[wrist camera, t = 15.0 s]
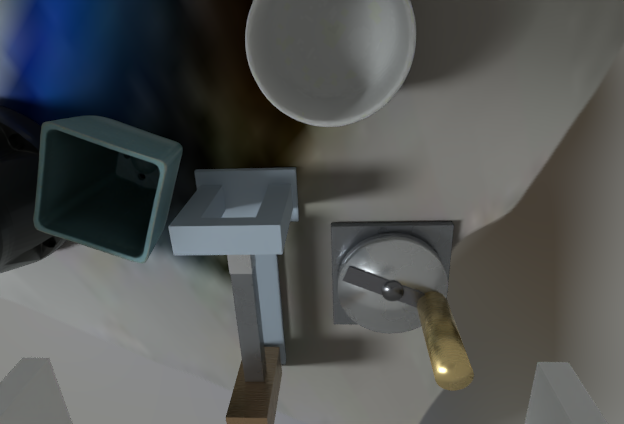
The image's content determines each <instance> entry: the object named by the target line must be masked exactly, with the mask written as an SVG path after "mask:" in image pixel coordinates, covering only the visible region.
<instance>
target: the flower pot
mask: <svg viewBox="0 0 624 424" xmlns="http://www.w3.org/2000/svg"><path fill="white" fill-rule="evenodd" d="M182 152H183V148H182V146H181V144H180V143H178V142H176V141H173V140H170V139H167V138H164V137H161V136H158V135H155V134H152V133H150V132H147V131H144V130H141V129H138V128H135V127H133V126H130V125H127V124H124V123H121V122H119V121H116V120H113V119H110V118H106V117H101V116H93V115H87V116H78V117H72V118H65V119H59V120H53V121H47V122H44V123H43V124H42V126H41V134H40V149H39V164H38V176H37V190H36V199H35V210H34V216H33V222H34V226H35V228H36V229H37V230H39V231H41V232H44V233H47V234H50V235H53V236H56V237H60V238H63V239H66V240H69V241H72V242H75V243H78V244H81V245H85V246H87V247H91V248H94V249H97V250H100V251H103V252H106V253H109V254H111V255H115V256H118V257H121V258H124V259H127V260H130V261H133V262H137V263H145V262H146V261H147V259H148V257H149V255H150V254H151V252H152V250H153V248H154V246H155V245H156V243H157V241H158V239H159V237H160V235H161V233H162V231H163V229H164V227H165V224H166V221H167V217H168V213H169V208H170V204H171V200H172V195H173V191H174V186H175V182H176V178H177V173H178V169H179V165H180V161H181V157H182ZM126 155H130V157H127V156H126ZM140 174H144V175H145V178H141V177H140Z"/></svg>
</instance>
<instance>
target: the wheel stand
mask: <svg viewBox="0 0 624 424" xmlns="http://www.w3.org/2000/svg"><path fill="white" fill-rule="evenodd" d="M453 228H454V225H453V223H452V221H445V222H368V223H331V240H332V278H333V316H334V324H357V323H356V322H354V321H353V320H352V319H351V318H350V317H349V316H348V315H347V314H346V312H345V311H344V309H343V308H342V306H341V303H340V301H339V297H338V272H339V268H340V265H341V263H342V261H343V259H344V257H345V256H346V255H347V253H348V252H349V251H350V250H351V249H352V248H353V247H354V246H356V245H357V244H358V243H360V242H361V241H363V240H365V239H367V238H370V237H372V236H375V235H379V234H385V233H401V234H407V235H410V236H413V237H416V238H418V239H420V240H422V241H424V242H425V243H427V244H428V245H429V246H430V247H432V248H433V250H434V251H435V252H436V253H437V255H438V256H439V258H440V260H441V262H442V264H443V267H444V269H445V272H446V275H447V279H449V269H450V259H451V249H452V239H453ZM446 299H447V297H446Z"/></svg>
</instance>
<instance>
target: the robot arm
mask: <svg viewBox="0 0 624 424" xmlns="http://www.w3.org/2000/svg"><path fill="white" fill-rule="evenodd" d="M40 134H41V126H40V125H38V124H37V123H36V122H34V121H33V120H31V119H29V118H28V117H26V116H24V115H22V114H20V113H18V112H16V111H14V110H11V109H9V108H6V107H3V106H0V273H3V272H6V271H9V270H12V269H15V268H19V267H22V266H25V265H28V264H31V263H34V262H37V261H39V260H41V259H43V258H45V257H47V256H49V255H50V254H52V253H53V252H54V251H56V250H57V249H58V248H59V247H60V246H61V245H63V244H64V243H65V242H66V241H67V240H66V239H63V238H60V237H56V236H53V235H50V234H47V233H44V232H41V231H39V230H37V229H36V228H35V226H34V222H33V216H34V210H35V199H36V190H37V176H38V164H39V149H40ZM0 424H73V423H72V421H71V418H70V415H69V412H68V409H67V407H66V404H65V401H64V398H63V396H62V393H61V390H60V387H59V384H58V381H57V379H56V376H55V373H54V371H53V368H52V365H51V362H50V359H49V358H22V359H21V360H20V361H19V363H18V364H17V365H16V366H15V367H14V368H13V369H12V370H11V371H10V372H9V373H8V375H7V376H6V377H5V378H4V379H3V380H2V381H1V382H0ZM525 424H608V423H607V421H606V420H605V418H604V417H603V415H602V413H601V412H600V410H599V409H598V407H597V406H596V404H595V403H594V401H593V399H592V398H591V396H590V395H589V393H588V392H587V390H586V389H585V387H584V386H583V384H582V382H581V381H580V379H579V378H578V376H577V375H576V373H575V372H574V370H573V369H572V367H571V365H570V364H569V363H568V362H538V363H537V368H536V372H535V377H534V382H533V386H532V391H531V396H530V401H529V406H528V410H527V415H526V420H525Z"/></svg>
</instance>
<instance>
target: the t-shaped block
mask: <svg viewBox="0 0 624 424" xmlns="http://www.w3.org/2000/svg"><path fill="white" fill-rule="evenodd" d="M194 173H195V180H196V186H197V191H196V192H195V193H194V195H193V196H192V197H191V198H190V200H189V201H188V202H187V203H186V205H185V206H184V207H183V209H182V210H181V211H180V212H179V214H178V215H177V216H176V217H175V219H174V220H173V221H172V223H171V224H170V225H169V226H168V227H169V232H170V238H171V243H172V248H173V253H174V255H255V257H256V273H257V283H258V292H259V301H260V311H261V320H262V329H263V339H264V347H280V357H281V364H286V353H285V341H284V329H283V317H282V305H281V293H280V281H279V269H278V257H277V254H283V250H284V246H285V241H286V237H287V233H288V229H289V224H290V221H299V212H298V195H297V178H296V167H289V168H242V169H196V170H195V171H194Z"/></svg>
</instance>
